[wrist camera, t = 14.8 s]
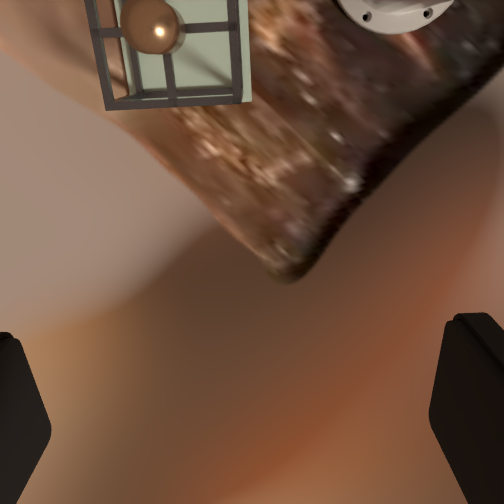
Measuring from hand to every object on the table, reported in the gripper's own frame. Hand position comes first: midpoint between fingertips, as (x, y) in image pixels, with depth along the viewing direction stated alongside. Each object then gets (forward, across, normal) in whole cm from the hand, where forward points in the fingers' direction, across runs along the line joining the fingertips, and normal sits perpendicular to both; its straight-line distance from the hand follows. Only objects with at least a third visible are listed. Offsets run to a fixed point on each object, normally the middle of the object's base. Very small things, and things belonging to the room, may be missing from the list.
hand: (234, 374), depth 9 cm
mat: (+36, +6, -8) cm, 38 cm away
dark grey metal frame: (+36, +6, -8) cm, 37 cm away
